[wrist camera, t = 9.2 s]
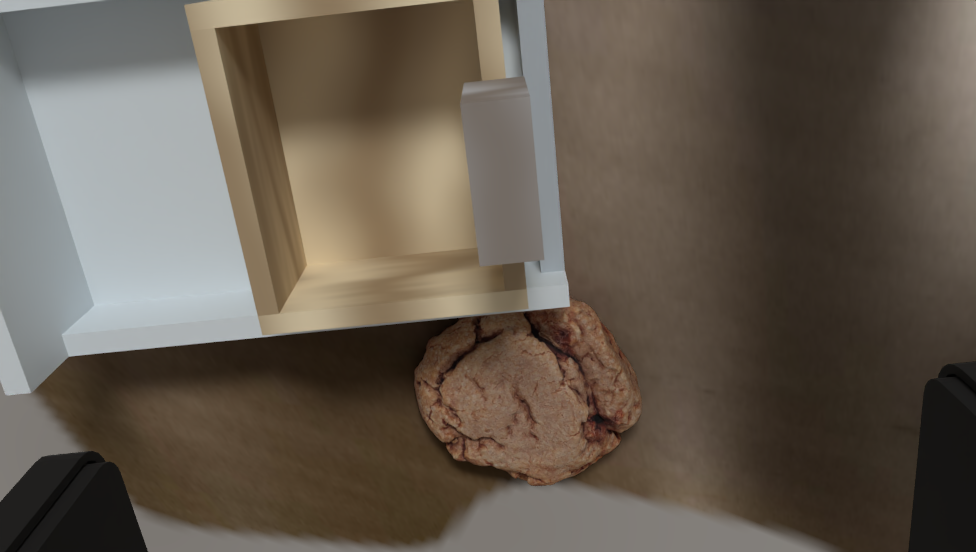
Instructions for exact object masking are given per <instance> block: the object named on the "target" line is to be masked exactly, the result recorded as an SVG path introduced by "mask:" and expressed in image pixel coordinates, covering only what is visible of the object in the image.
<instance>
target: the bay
mask: <svg viewBox="0 0 976 552" xmlns="http://www.w3.org/2000/svg"><path fill="white" fill-rule="evenodd" d="M204 1H210V0H0V381H1V384H2V386H3V389H4V392H5V394H6V395H14V394H25V393H32V392H33V391H34V390H35V389H36V388H37V387H38V386H39V385H40V384H41V383H42V382H43V381H44V380H45V379H46V378H47V377H48V376H49V375H50V374H51V373H52V372H53V371H54V370H55V369H56V368H57V367H58V366H60V365H61V364H62V363H63V362H64V361H65V360H66V359H67V358H68V357H69V356H79V355H89V354H99V353H109V352H119V351H129V350H139V349H149V348H159V347H169V346H179V345H189V344H199V343H210V342H220V341H230V340H240V339H250V338H260V337H270V336H280V335H290V334H300V333H310V332H320V331H330V330H340V329H350V328H360V327H371V326H381V325H391V324H401V323H411V322H421V321H431V320H441V319H451V318H461V317H471V316H481V315H491V314H501V313H511V312H521V311H532V310H542V309H552V308H562V307H570V301H569V289H568V281H567V277H566V273H565V266H564V253H563V241H562V228H561V215H560V203H559V190H558V177H557V165H556V152H555V139H554V127H553V114H552V101H551V89H550V76H549V63H548V51H547V38H546V25H545V13H544V0H498V3H499V13H500V23H501V33H502V43H503V53H504V63H505V73H506V78H512V77H521V76H524V78H525V81H526V84H527V88H528V91H529V95H530V102H531V113H532V125H533V136H534V147H535V159H536V170H537V181H538V192H539V204H540V215H541V226H542V238H543V249H544V260H540V261H530V262H524V266H525V276H526V286H527V296H528V306H529V309H523V310H513V311H503V312H493V313H483V314H472V315H462V316H452V317H442V318H432V319H422V320H412V321H402V322H392V323H382V324H372V325H362V326H352V327H342V328H332V329H322V330H312V331H302V332H292V333H281V334H271V335H262V332H261V328H260V323H259V319H258V315H257V311H256V306H255V302H254V298H253V294H252V290H251V285H250V281H249V277H248V273H247V269H246V264H245V260H244V256H243V252H242V247H241V243H240V239H239V235H238V231H237V226H236V222H235V218H234V214H233V210H232V205H231V201H230V197H229V193H228V188H227V184H226V180H225V176H224V172H223V167H222V163H221V159H220V155H219V150H218V146H217V142H216V138H215V134H214V129H213V125H212V121H211V117H210V113H209V108H208V104H207V100H206V96H205V91H204V87H203V83H202V79H201V75H200V70H199V66H198V62H197V58H196V53H195V49H194V45H193V41H192V37H191V32H190V28H189V24H188V20H187V16H186V11H185V7H184V5H187V4H192V3H198V2H204Z"/></svg>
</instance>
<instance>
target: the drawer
mask: <svg viewBox="0 0 976 552" xmlns="http://www.w3.org/2000/svg"><path fill="white" fill-rule="evenodd" d="M184 7H185V11H186V16H187V20H188V24H189V28H190V32H191V37H192V41H193V45H194V49H195V53H196V58H197V62H198V66H199V70H200V75H201V79H202V83H203V87H204V91H205V96H206V100H207V104H208V108H209V113H210V117H211V121H212V125H213V129H214V134H215V138H216V142H217V146H218V150H219V155H220V159H221V163H222V167H223V172H224V176H225V180H226V184H227V188H228V193H229V197H230V201H231V205H232V210H233V214H234V218H235V222H236V226H237V231H238V235H239V239H240V243H241V247H242V252H243V256H244V260H245V264H246V269H247V273H248V277H249V281H250V285H251V290H252V294H253V298H254V302H255V306H256V311H257V315H258V319H259V323H260V328H261V332H262V335H271V334H281V333H292V332H302V331H312V330H322V329H332V328H342V327H352V326H362V325H372V324H382V323H392V322H402V321H412V320H422V319H432V318H442V317H452V316H462V315H472V314H483V313H493V312H503V311H513V310H523V309H529V306H528V296H527V286H526V276H525V266H524V262H530V261H540V260H544V249H543V238H542V226H541V215H540V204H539V192H538V181H537V170H536V159H535V147H534V136H533V125H532V113H531V102H530V95H529V91H528V88H527V84H526V81H525V78H524V76H521V77H512V78H506V73H505V63H504V53H503V43H502V33H501V23H500V13H499V3H498V0H210V1H204V2H198V3H192V4H187V5H184Z"/></svg>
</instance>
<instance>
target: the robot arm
mask: <svg viewBox="0 0 976 552" xmlns="http://www.w3.org/2000/svg"><path fill="white" fill-rule="evenodd" d="M0 552H148V551H147V548H146V545H145V542H144V539H143V536H142V534H141V530H140V528H139V525H138V522H137V519H136V516H135V513H134V510H133V507H132V504H131V502H130V499H129V496H128V493H127V490H126V487H125V484H124V481H123V479H122V476H121V473H120V471H119V469H118V467H117V466H116V465H115V464H114V463H112V462H105V460H104V458H103V457H102V456H101V455H100V454H99V453H97V452H94V451H88V452H78V453H68V454H59V455H50V456H45V457H41V458H40V459H39V460H38V461H37V462H35V463H34V465H33V466H32V467H31V468H30V469H29V470H28V471H27V472H26V474H25V475H24V476H23V477H22V478H21V479H20V481H19V482H18V483H17V484H16V485H15V486H14V487H13V489H11V491H10V492H9V493H8V494H7V495H6V496H5V497H4V498H3V500H2V501H1V502H0ZM908 552H976V362H966V363H956V364H948V365H946V366H944V367H943V368H942V370H941V371H940V373H939V376H938V378H936V379H931V380H929V381H928V382H927V384H926V386H925V390H924V396H923V407H922V417H921V427H920V438H919V448H918V458H917V469H916V479H915V489H914V500H913V510H912V520H911V531H910V541H909V551H908Z"/></svg>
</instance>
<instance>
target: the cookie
mask: <svg viewBox="0 0 976 552" xmlns="http://www.w3.org/2000/svg"><path fill="white" fill-rule="evenodd" d="M569 301H570V307H562V308H552V309H542V310H532V311H521V312H511V313H501V314H491V315H481V316H471V317H461V318H459V320H458V322H457V323H456V324H454V325H453V326H449V327H448V328H446V329H445V330H444V331H443V332H442V333H441V334H440V335H438V336H434V337H432V338H430V339H429V341H428V343H427V346H426V353H425V355H424V358H423V360H422V361H421V362H420V363H419V366H417V367H416V369H415V371H414V374H415V380H414V387H415V392H416V397H417V402H418V406H419V410H420V413H421V415H422V418H423V419H424V421H425V422H426V424H427V426H428V427H429V429H430V430H431V431H432V432H433V433H434V434H435V436H436V437H437V438H438V439H439V440H441V441H442V442H445V443H446V445H447V446H446V447H447V449H448V451H449V453H450V454H451V455H452V456H453V458H454V459H455V460H457V461H469V462H471V463H472V464H475V465H479V466H493V467H495V468H497V469H502V470H505V471H506V472H508V473H509V474H510V475H511V476H512V477H514V478H515V479H516V478H517V477H518V478H519V479H522V480H526V481H528V484H530V485H531V486H545V485H552V484H555V483H556V482H558V481H561V480H563V479H565V478H569V477H572V476H575V475H577V474H579V473H581V472H583V471H584V470H585V469H586V468H587V467H588V466H589V465H591V464H593V463H595V462H596V461H597V460H598V459H600V458H602V456H603V455H605V454H608V453H609V452H611V451H613V450H614V449H615V448H616V447H617V446H618V445H619V443H620V441H621V436H620V434H619V433H622V432H623V431H625V430H627V429H629V428H630V427H632V426H633V425H634V424H635V423H636V422H637V421H638V419H639V417H640V415H641V412H642V398H641V394H640V389H639V387H638V382H637V376H636V374H635V372H634V370H633V368H632V366H631V364H630V363H629V361H628V360H627V358H626V356H625V355H624V354H623V353H622V351H621V350H620V349H619V347H618V346H617V344H616V342H615V340H614V336H613V335H612V334H611V333H610V331H609V330H608V329H607V328H606V327H605V326H604V325H603V324H602V323H601V321H600V320H599V317H598V316H597V314H596V313H595V311H594V310H593V309H592V308H591V307H590V306H589V305H587V304H586V303H584V302H581V301H576V300H573V299H572V298H571V297H569Z"/></svg>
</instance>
